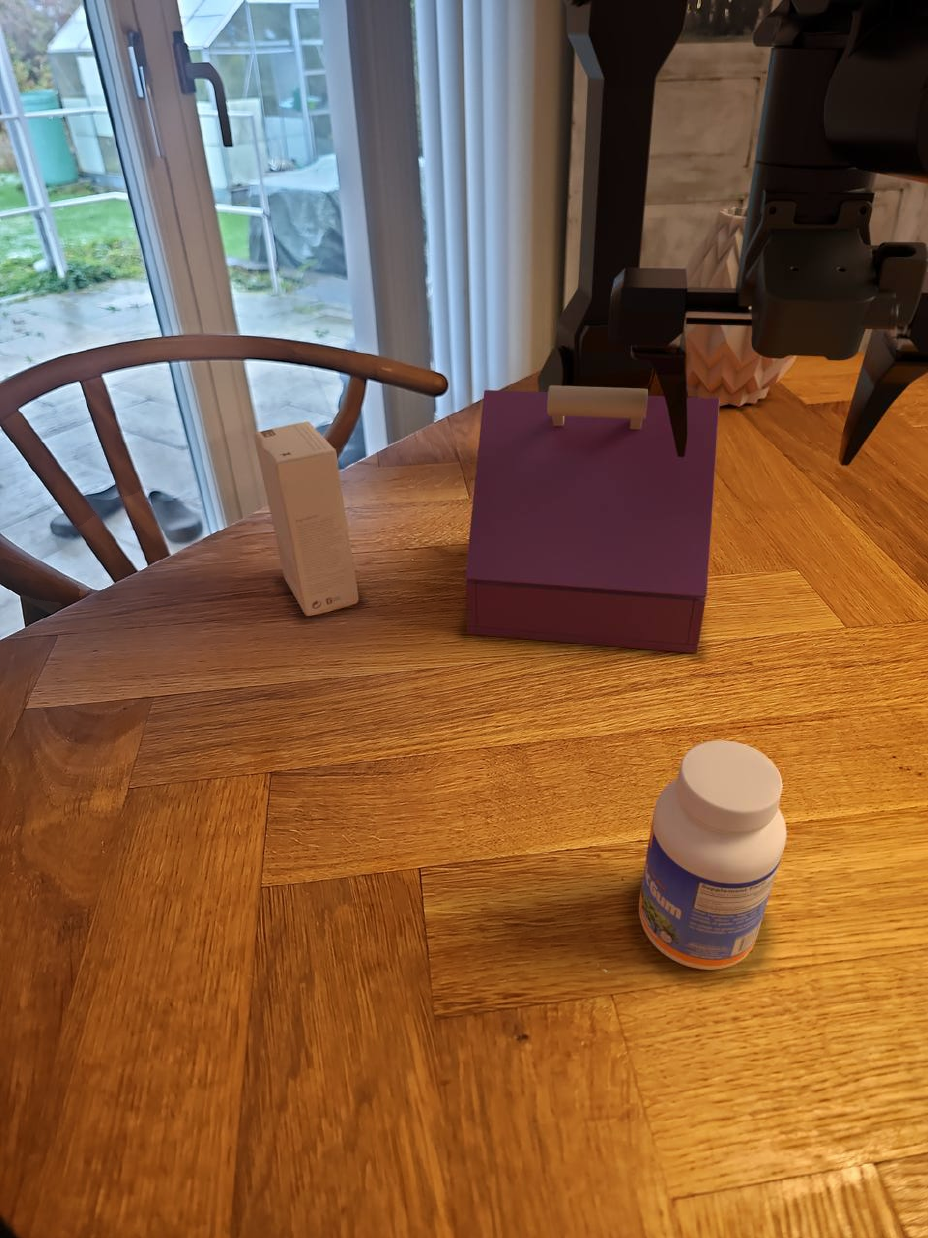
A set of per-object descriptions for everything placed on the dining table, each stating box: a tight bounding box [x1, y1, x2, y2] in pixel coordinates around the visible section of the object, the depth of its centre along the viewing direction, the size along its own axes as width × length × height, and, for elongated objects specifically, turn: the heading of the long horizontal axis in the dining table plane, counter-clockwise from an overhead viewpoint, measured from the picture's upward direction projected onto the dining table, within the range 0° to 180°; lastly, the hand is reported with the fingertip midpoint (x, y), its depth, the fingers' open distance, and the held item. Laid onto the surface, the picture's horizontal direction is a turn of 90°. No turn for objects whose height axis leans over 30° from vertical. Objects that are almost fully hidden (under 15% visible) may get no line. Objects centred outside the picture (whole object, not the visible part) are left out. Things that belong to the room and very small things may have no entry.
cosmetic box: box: [253, 421, 359, 617], centre depth 60 cm, size 6×4×12 cm
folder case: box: [465, 580, 706, 654], centre depth 61 cm, size 12×15×4 cm
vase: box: [684, 205, 798, 407], centre depth 88 cm, size 16×16×18 cm
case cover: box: [464, 385, 720, 599], centre depth 53 cm, size 13×15×5 cm
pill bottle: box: [638, 739, 787, 971], centre depth 37 cm, size 5×5×10 cm
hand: (760, 458), depth 50 cm, fingers open, 9 cm apart
